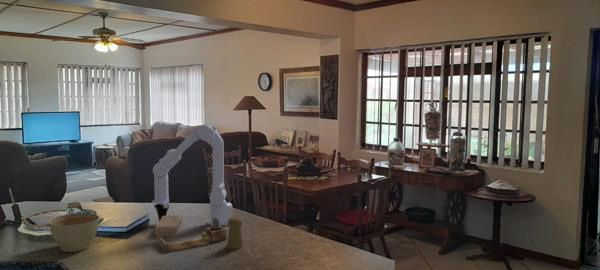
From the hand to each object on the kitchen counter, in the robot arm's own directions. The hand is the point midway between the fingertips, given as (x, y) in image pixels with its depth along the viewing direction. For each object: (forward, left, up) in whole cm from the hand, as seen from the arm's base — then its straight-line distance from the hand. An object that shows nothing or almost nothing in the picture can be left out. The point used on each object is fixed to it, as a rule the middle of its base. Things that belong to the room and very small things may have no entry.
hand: (162, 220), depth 188 cm
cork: (-15, +42, -2) cm, 45 cm away
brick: (0, +11, -2) cm, 11 cm away
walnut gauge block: (-12, +30, -1) cm, 33 cm away
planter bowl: (+35, +13, -2) cm, 38 cm away
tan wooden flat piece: (0, +29, -1) cm, 29 cm away
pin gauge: (-12, +30, -1) cm, 33 cm away
